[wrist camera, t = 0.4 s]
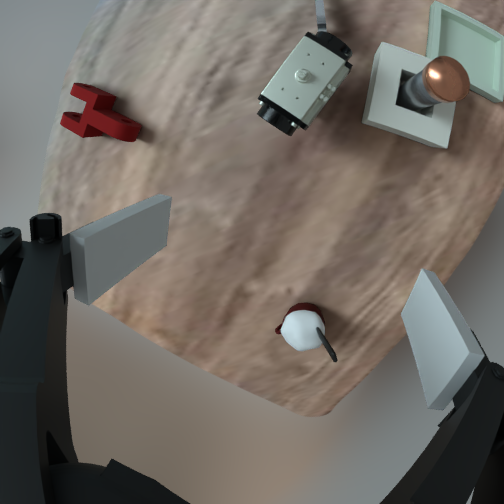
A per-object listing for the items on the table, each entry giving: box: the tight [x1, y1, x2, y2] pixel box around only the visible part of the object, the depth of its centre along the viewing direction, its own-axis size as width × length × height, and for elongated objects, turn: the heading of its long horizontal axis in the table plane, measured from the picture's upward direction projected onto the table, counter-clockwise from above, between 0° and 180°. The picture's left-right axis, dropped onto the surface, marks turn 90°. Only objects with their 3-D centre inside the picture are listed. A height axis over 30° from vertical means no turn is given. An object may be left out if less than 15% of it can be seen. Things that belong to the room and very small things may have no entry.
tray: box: [426, 1, 504, 103], centre depth 25 cm, size 11×12×2 cm
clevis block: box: [361, 42, 456, 148], centre depth 29 cm, size 10×10×6 cm
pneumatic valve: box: [257, 31, 353, 136], centre depth 29 cm, size 6×12×12 cm, turn 146°
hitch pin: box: [396, 56, 470, 111], centre depth 24 cm, size 4×4×15 cm
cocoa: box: [275, 303, 337, 362], centre depth 41 cm, size 10×6×12 cm, turn 92°
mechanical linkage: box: [60, 83, 141, 142], centre depth 40 cm, size 16×7×5 cm, turn 62°
